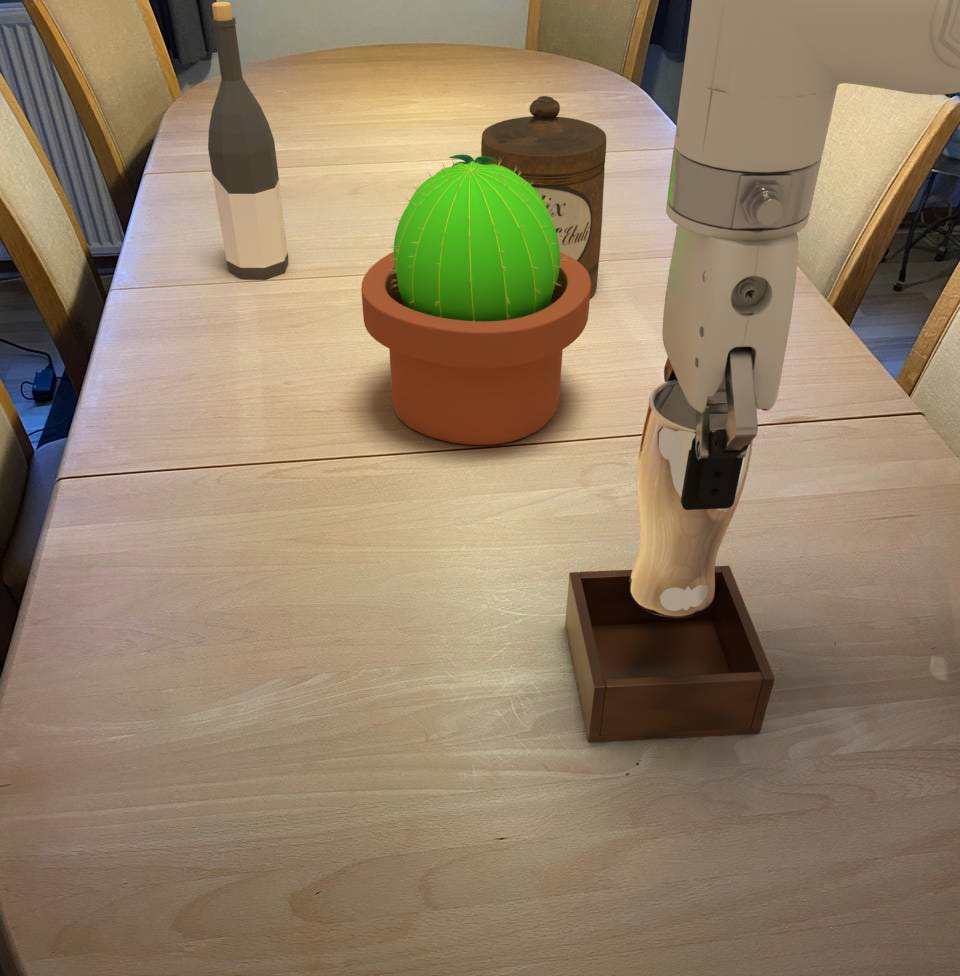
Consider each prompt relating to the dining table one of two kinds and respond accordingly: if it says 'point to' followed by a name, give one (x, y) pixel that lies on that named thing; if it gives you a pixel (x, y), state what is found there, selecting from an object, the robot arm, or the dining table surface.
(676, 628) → the crate
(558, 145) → the wooden container
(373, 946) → the dining table surface
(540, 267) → the potted cactus
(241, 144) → the wine bottle
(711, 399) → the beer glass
